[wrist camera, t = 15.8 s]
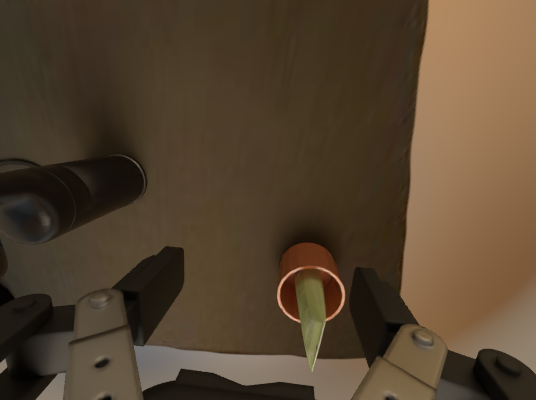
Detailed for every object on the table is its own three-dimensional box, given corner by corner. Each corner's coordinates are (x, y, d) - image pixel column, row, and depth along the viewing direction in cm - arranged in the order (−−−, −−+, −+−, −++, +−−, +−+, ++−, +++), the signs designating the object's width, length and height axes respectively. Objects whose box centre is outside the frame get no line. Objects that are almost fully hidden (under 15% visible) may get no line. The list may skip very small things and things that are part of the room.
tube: (326, 274, 51) (347, 359, 32) (303, 286, 52) (311, 374, 33) (311, 251, 50) (324, 325, 31) (288, 264, 51) (287, 342, 32)
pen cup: (276, 289, 54) (274, 320, 45) (281, 239, 51) (280, 262, 42) (331, 295, 53) (339, 328, 44) (339, 245, 50) (350, 269, 41)
